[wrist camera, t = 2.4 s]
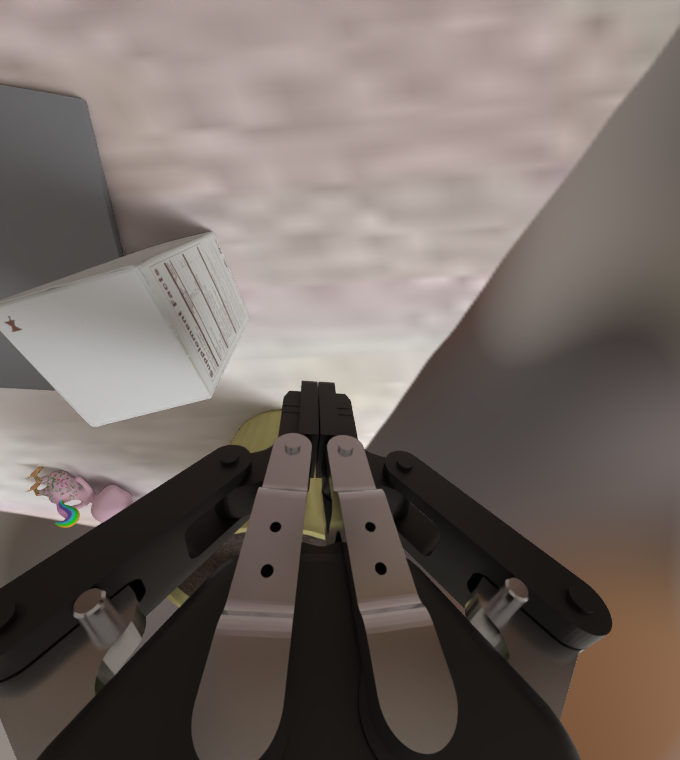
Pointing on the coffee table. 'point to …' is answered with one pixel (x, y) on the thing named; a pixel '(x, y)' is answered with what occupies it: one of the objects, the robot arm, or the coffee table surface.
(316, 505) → the potted cactus
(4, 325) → the supplement box
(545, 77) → the coffee table surface
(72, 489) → the pink unicorn figurine
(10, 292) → the mat
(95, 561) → the robot arm
